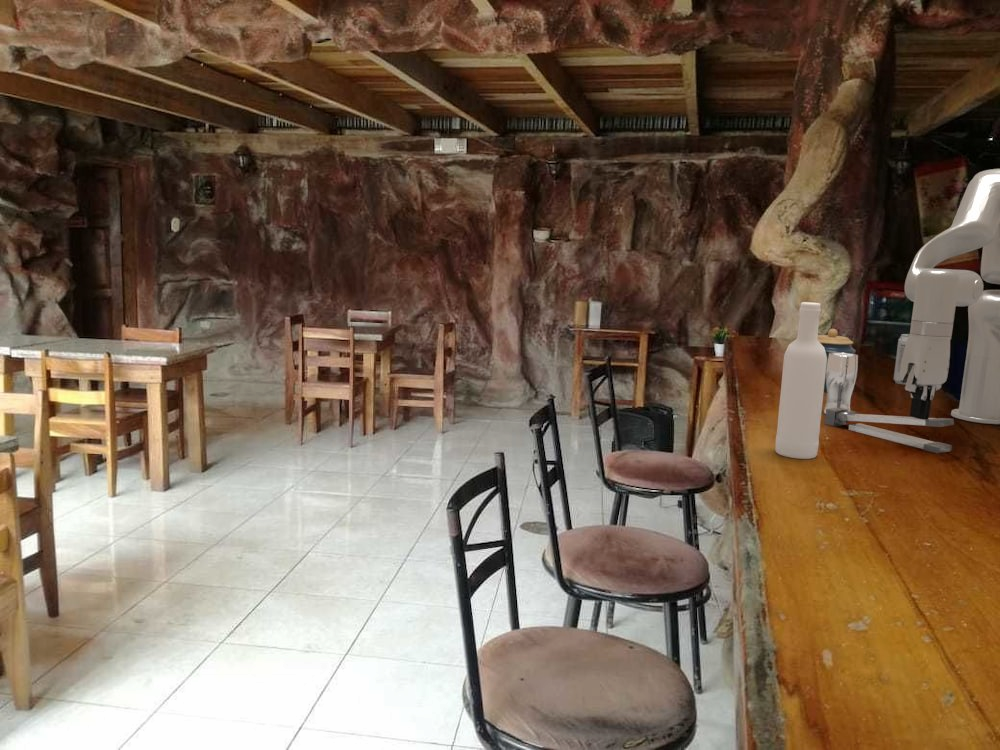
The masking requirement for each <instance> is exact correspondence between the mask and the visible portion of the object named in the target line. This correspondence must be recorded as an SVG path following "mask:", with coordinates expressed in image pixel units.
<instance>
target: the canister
mask: <svg viewBox="0 0 1000 750" xmlns="http://www.w3.org/2000/svg"><path fill="white" fill-rule="evenodd" d="M838 333H839V332H838V330H837V329H835V328H830V329H829V330H828V331H827V334H818V337H817V340H818V341H819V342H820V343H821V344H822V346H823V347H824V348H825V352H826V356H827V362H828V357H829V353H833V352H839V353H850V354H856V352H857V351H856V349H854V348H853V346H852V345H853V344H854V341H853V340H850V339H849V337H847V336H841V335H838ZM826 368H827V364H826ZM824 393H827V386H826V373H825V383H824Z"/></svg>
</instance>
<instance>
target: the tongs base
mask: <svg viewBox="0 0 1000 750" xmlns="http://www.w3.org/2000/svg"><path fill="white" fill-rule="evenodd" d="M840 412H848V409H843V408H839V407H838V408H830V409H826V414H825V419H824V424H825V425H827V426H832V427H837V426H839V427H840V426H845V425H847V422H845V423H839V422H838V421H837V419H836V415H837V414H838V413H840ZM848 431H852V432H856V433H860V434H864V435H867V436H872V437H875V438H879V439H882V440H887V441H890V442H894V443H898V444H902V445H906V446H909V447H913V448H917V449H921V450H923V451H927V452H929V453H933V454H934V453H935V454H942V453H947V452H951V451H952V449H953V448H952V447H953V445H952V444H948V443H944V442H940V441H934V440H928V439H924V438H922V437H921V438H920V437H917V436H913V435H909V434H905V433H900V432H896V431H893V430H889V429H884V428H880V427H876V426H872V425H867V424H864V423H860V422H859V423H851V424H848Z"/></svg>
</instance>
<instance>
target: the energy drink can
mask: <svg viewBox="0 0 1000 750" xmlns="http://www.w3.org/2000/svg"><path fill="white" fill-rule="evenodd" d="M909 336H910V333H902V334H900V337H899V338H898V340H897V349H896V357H895V366H894V371H893V372H894V373H893V381H895V384H898V385H905V386H906V383H902V382H900V381H899V373H900V367H901V362H902V357H903V353H904V349H905V345H906V342H907V339H908V337H909Z"/></svg>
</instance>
